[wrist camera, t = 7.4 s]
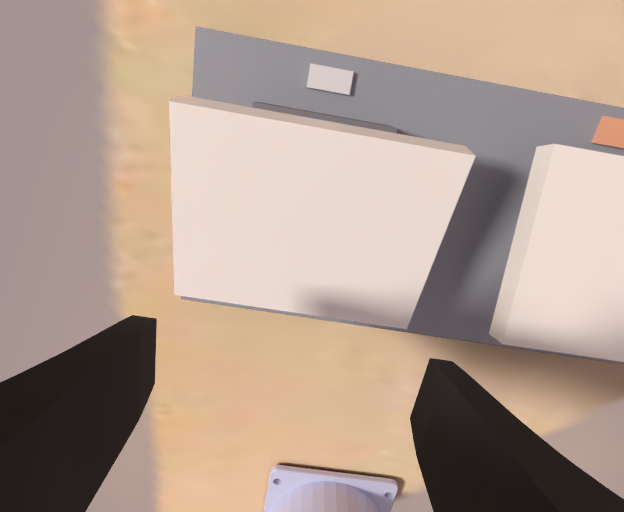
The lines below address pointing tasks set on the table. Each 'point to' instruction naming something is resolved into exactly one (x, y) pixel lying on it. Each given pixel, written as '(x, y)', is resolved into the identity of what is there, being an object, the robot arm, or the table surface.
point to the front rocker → (306, 211)
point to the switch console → (430, 125)
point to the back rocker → (567, 257)
